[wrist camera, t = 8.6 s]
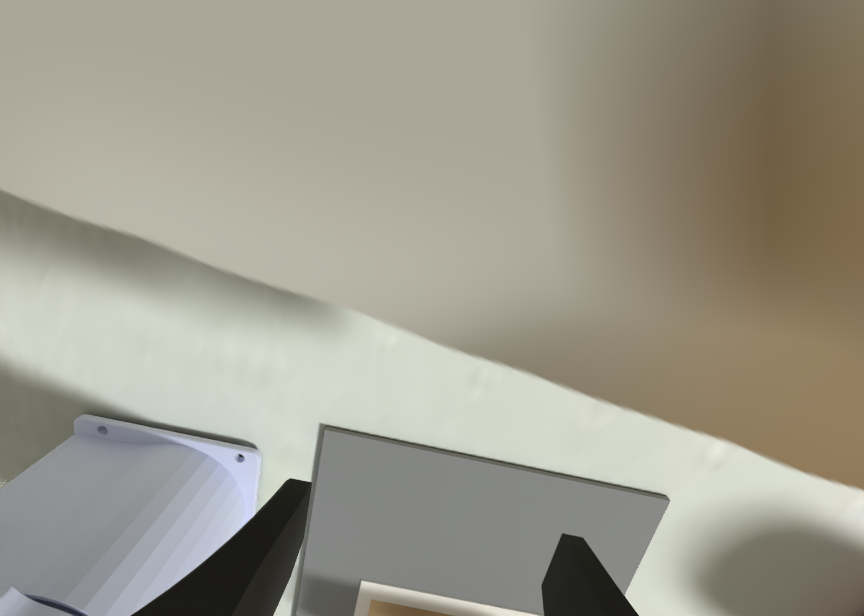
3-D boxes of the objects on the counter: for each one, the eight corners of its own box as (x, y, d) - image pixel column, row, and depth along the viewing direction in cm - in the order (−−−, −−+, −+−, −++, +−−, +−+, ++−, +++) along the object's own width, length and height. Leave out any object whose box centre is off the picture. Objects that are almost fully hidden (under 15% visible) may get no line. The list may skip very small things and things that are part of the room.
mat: (283, 702, 30) (280, 709, 29) (326, 426, 23) (324, 430, 22) (544, 751, 30) (545, 758, 30) (667, 496, 23) (671, 502, 23)
